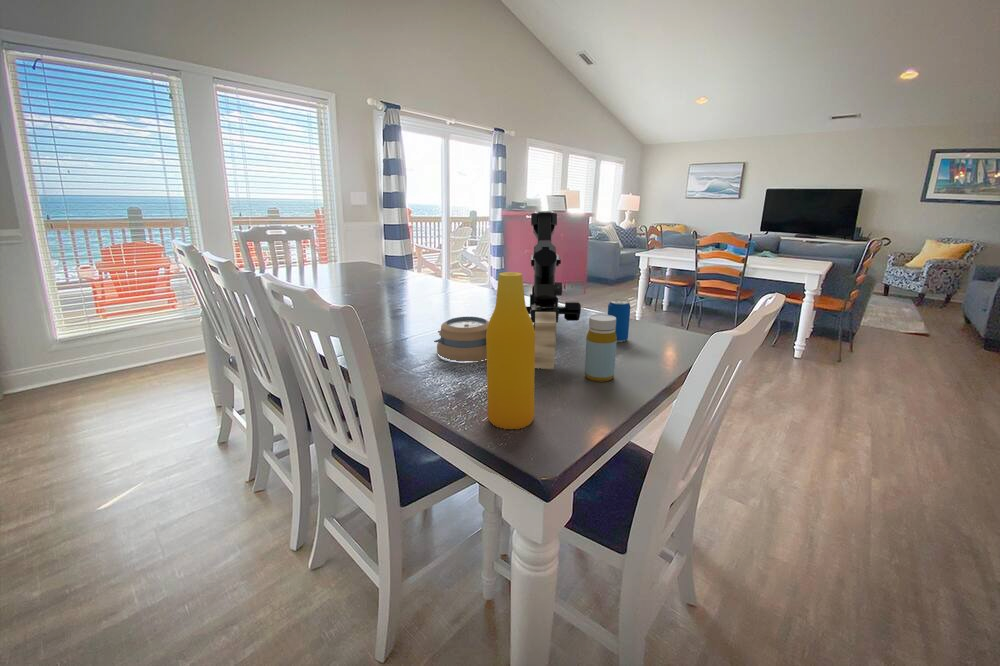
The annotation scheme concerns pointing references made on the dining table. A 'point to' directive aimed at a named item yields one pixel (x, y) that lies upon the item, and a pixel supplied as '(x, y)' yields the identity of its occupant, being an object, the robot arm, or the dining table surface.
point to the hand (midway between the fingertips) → (544, 338)
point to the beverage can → (620, 317)
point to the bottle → (601, 348)
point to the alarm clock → (463, 339)
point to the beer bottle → (510, 356)
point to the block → (545, 339)
